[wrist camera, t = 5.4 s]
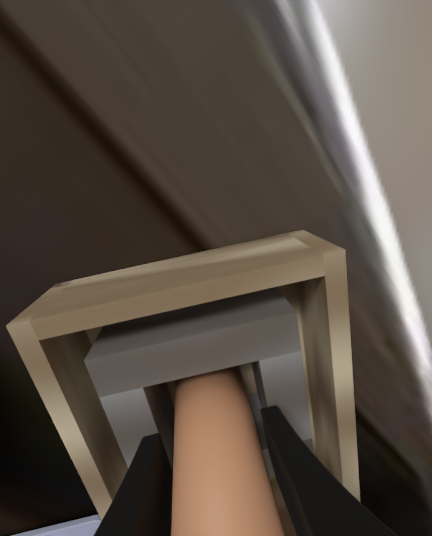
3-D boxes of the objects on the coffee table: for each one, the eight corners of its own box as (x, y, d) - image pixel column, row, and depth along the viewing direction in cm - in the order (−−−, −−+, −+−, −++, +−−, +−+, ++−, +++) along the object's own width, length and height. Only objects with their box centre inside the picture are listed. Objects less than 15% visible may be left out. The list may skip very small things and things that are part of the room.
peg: (242, 382, 16) (311, 638, 7) (184, 396, 16) (187, 672, 7) (231, 333, 15) (297, 571, 6) (168, 348, 14) (150, 611, 6)
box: (327, 465, 19) (362, 537, 15) (148, 509, 19) (138, 594, 15) (302, 229, 14) (345, 249, 10) (56, 283, 14) (5, 325, 10)
